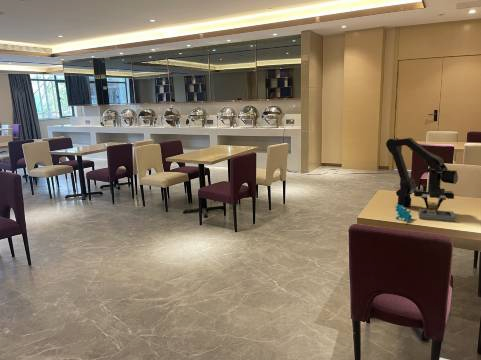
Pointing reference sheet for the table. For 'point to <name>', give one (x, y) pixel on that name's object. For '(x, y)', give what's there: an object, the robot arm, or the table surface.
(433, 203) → the wooden block
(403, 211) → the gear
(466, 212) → the table surface
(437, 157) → the robot arm
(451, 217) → the panel
